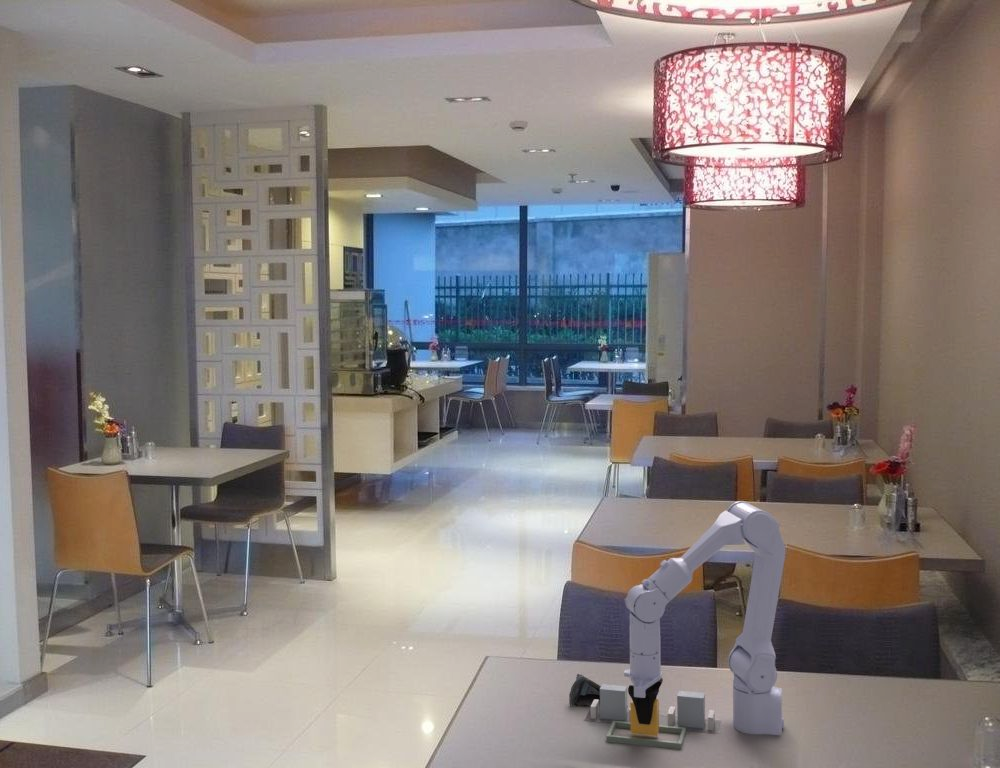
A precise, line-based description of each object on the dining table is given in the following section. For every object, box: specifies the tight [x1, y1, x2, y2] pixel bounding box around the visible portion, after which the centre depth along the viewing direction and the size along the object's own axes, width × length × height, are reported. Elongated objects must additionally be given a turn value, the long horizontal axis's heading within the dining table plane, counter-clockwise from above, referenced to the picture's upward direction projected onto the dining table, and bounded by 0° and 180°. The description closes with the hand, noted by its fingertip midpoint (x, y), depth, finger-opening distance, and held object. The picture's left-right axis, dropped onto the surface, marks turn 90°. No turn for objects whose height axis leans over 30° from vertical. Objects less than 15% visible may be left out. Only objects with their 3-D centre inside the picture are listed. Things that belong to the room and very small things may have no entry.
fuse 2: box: [676, 690, 706, 728], centre depth 197 cm, size 5×3×6 cm, turn 73°
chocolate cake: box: [568, 673, 629, 709], centre depth 210 cm, size 10×7×12 cm
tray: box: [605, 721, 687, 750], centre depth 192 cm, size 14×7×2 cm, turn 73°
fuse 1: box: [599, 683, 629, 721], centre depth 201 cm, size 5×3×6 cm, turn 73°
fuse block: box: [583, 698, 722, 735], centre depth 199 cm, size 26×6×4 cm, turn 73°
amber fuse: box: [629, 698, 660, 737], centre depth 192 cm, size 5×3×6 cm, turn 73°
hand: (646, 720), depth 192 cm, fingers closed on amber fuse, 3 cm apart
